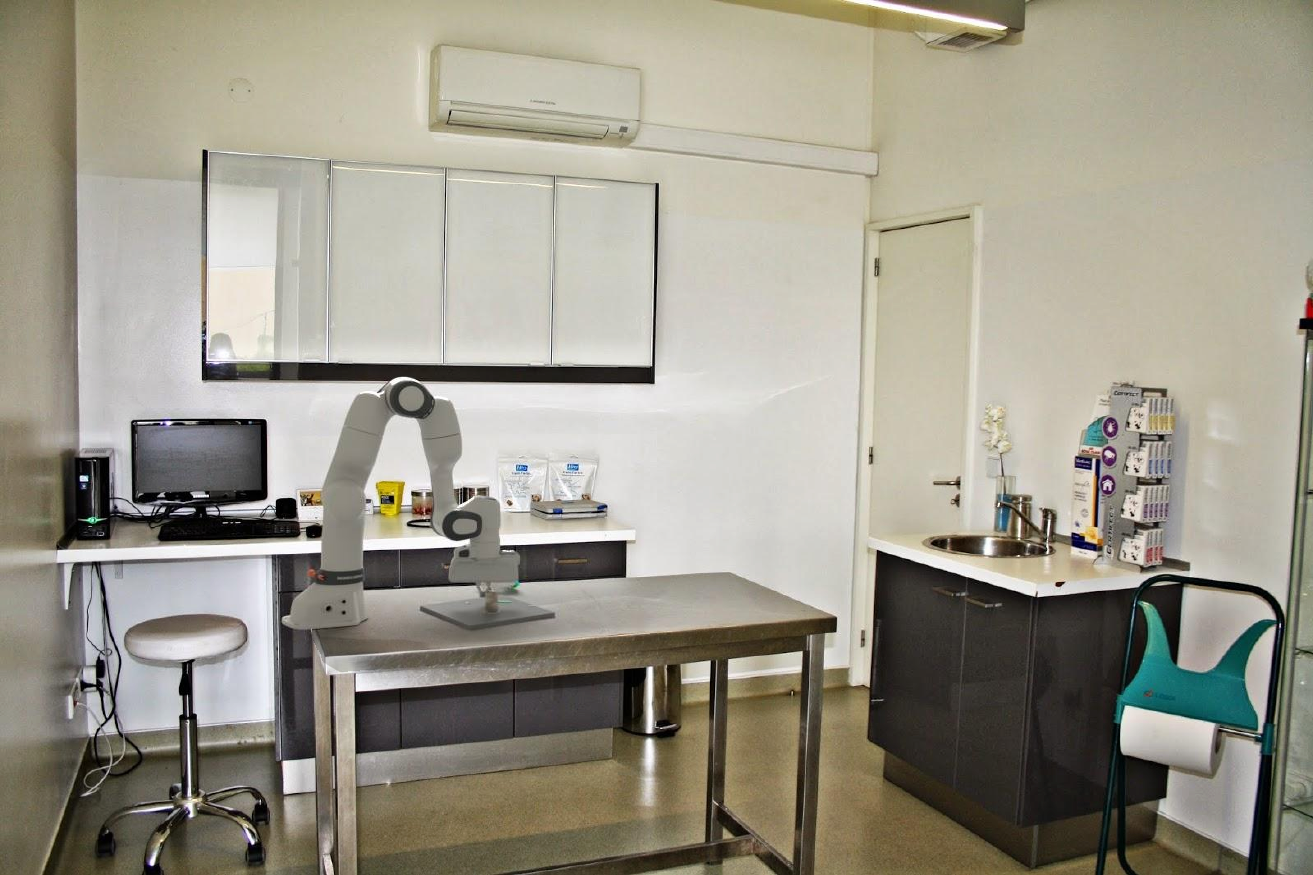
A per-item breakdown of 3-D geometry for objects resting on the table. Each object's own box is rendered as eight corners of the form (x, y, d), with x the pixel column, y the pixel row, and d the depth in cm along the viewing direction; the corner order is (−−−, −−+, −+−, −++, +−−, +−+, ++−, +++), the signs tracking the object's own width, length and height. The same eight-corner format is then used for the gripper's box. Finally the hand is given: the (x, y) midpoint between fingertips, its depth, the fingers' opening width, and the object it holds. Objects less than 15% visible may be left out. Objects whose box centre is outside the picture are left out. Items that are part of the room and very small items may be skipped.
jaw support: (503, 586, 312) (488, 562, 316) (489, 603, 316) (475, 579, 320) (530, 581, 321) (516, 558, 325) (516, 598, 325) (502, 575, 329)
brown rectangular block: (485, 612, 283) (485, 594, 283) (482, 601, 297) (483, 584, 296) (498, 612, 284) (498, 594, 284) (494, 601, 297) (495, 584, 297)
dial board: (469, 630, 269) (469, 624, 269) (420, 609, 290) (420, 605, 290) (554, 616, 288) (554, 611, 288) (502, 598, 309) (502, 594, 309)
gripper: (519, 548, 298) (518, 594, 298) (449, 548, 294) (448, 594, 295) (520, 552, 292) (519, 599, 292) (449, 552, 288) (447, 599, 288)
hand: (483, 597), depth 293 cm, fingers closed
